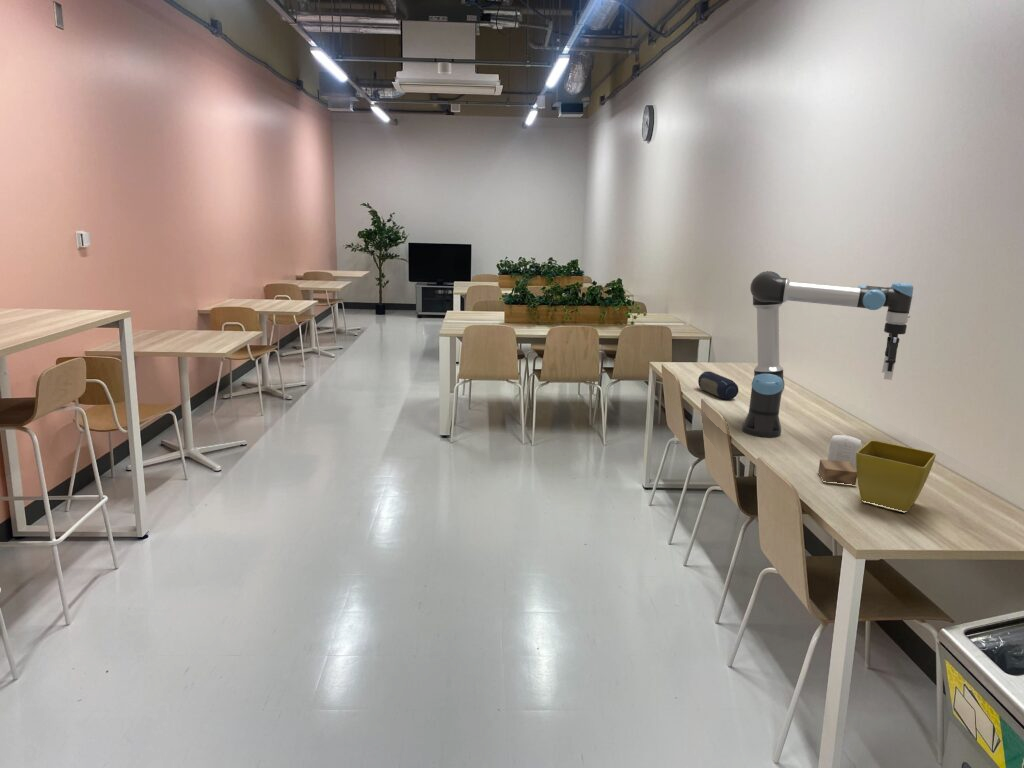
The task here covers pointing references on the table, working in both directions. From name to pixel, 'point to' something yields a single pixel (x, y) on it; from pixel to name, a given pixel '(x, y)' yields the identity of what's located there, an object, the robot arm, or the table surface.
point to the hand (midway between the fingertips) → (886, 376)
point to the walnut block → (837, 471)
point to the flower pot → (892, 473)
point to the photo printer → (844, 449)
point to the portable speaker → (718, 385)
